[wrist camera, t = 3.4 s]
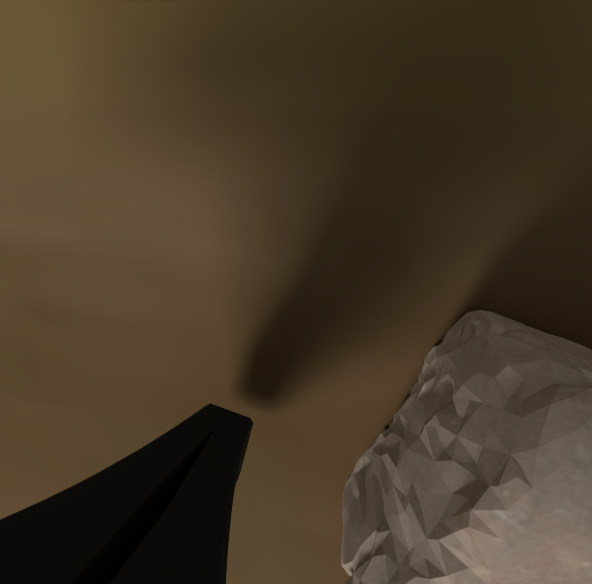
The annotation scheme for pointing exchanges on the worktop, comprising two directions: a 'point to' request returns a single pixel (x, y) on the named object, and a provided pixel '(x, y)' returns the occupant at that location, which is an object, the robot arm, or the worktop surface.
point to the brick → (480, 466)
